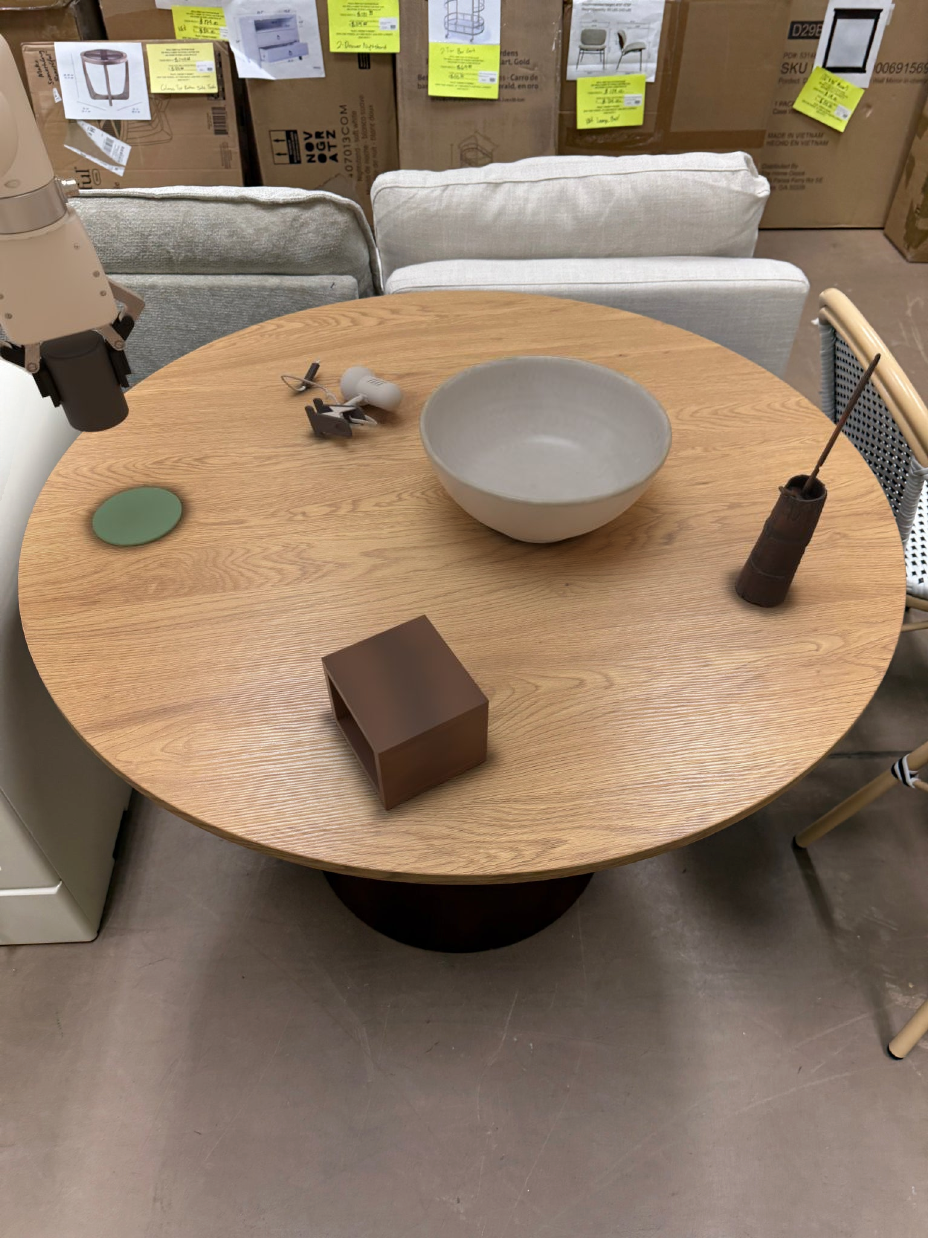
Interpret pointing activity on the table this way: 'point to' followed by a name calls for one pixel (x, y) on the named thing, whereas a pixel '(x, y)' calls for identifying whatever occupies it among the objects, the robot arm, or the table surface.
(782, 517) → the butter churn
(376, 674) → the box
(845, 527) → the table surface
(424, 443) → the decorative bowl
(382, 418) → the table surface
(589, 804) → the table surface
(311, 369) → the clip-on lamp
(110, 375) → the dark brown cylinder
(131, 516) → the mat
